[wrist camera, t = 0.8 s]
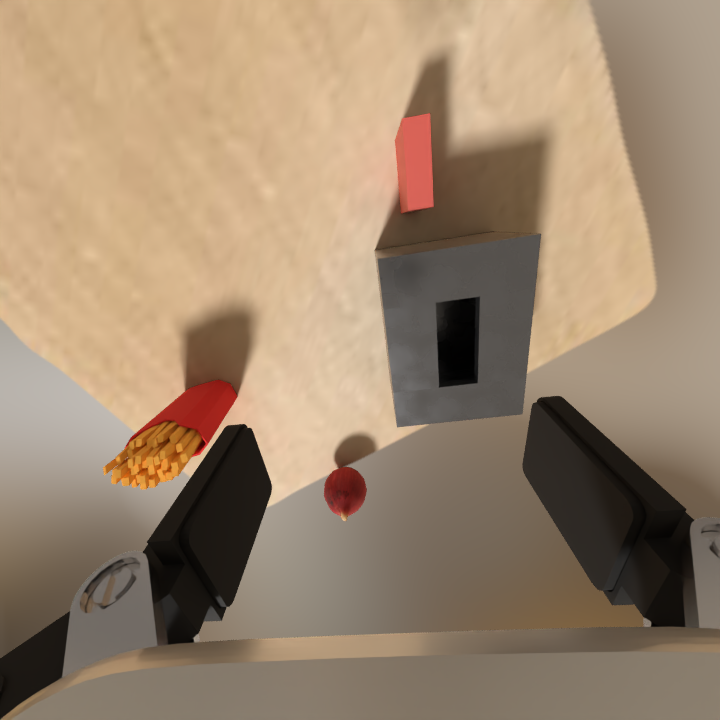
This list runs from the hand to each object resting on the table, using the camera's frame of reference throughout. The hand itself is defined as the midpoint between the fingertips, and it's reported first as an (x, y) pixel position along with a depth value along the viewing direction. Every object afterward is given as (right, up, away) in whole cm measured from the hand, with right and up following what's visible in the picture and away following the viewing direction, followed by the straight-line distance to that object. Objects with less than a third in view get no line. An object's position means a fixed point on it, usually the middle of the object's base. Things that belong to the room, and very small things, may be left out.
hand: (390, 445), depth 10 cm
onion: (-3, -13, +34) cm, 36 cm away
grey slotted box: (+8, +8, +23) cm, 26 cm away
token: (+4, +20, +18) cm, 27 cm away
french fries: (-21, -2, +29) cm, 36 cm away
